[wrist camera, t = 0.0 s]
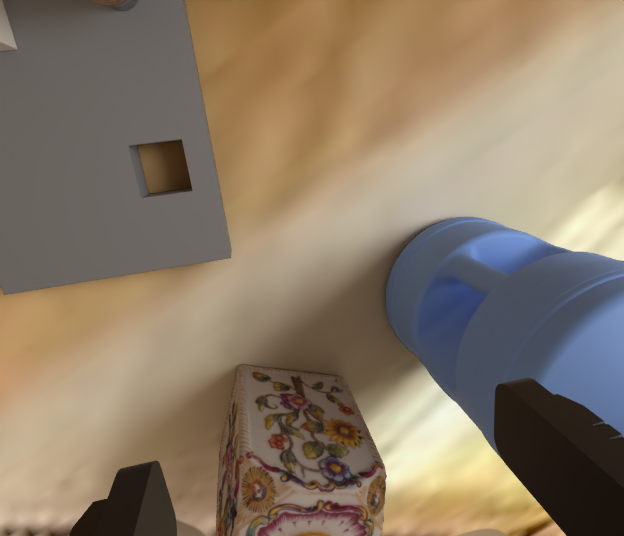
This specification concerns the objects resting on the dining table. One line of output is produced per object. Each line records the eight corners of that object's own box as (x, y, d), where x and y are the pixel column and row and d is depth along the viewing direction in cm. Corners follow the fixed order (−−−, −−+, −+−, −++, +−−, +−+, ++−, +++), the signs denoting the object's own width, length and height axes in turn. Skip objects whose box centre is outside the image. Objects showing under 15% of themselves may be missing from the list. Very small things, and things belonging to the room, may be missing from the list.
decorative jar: (319, 462, 46) (368, 646, 29) (217, 456, 43) (206, 655, 26) (345, 371, 43) (417, 517, 26) (238, 358, 40) (240, 511, 24)
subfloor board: (-125, -120, 26) (-169, -152, 23) (160, -128, 28) (152, -159, 26) (22, 282, 35) (3, 295, 32) (231, 249, 37) (231, 257, 34)
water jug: (542, 290, 45) (980, 494, 18) (434, 379, 46) (706, 697, 19) (472, 182, 40) (947, 254, 13) (352, 285, 40) (572, 546, 14)
